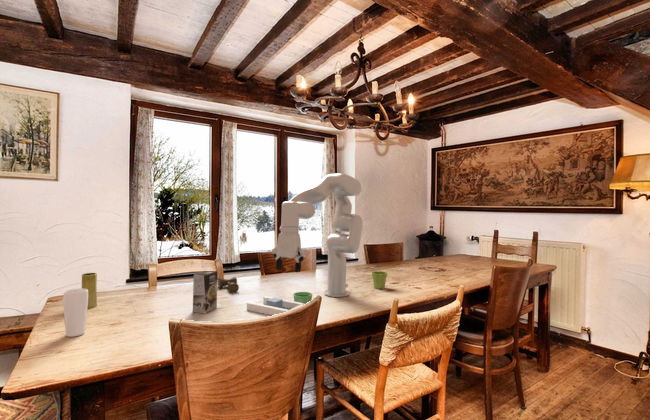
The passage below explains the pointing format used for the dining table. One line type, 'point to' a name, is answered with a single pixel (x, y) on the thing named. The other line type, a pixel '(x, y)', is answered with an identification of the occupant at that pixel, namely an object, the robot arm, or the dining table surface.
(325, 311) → the dining table surface
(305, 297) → the ramekin
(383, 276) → the plant pot
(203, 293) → the coffee box
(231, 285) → the kendama
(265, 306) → the channel
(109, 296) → the dining table surface
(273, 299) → the block
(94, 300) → the vase
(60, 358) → the dining table surface
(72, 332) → the drinking glass
